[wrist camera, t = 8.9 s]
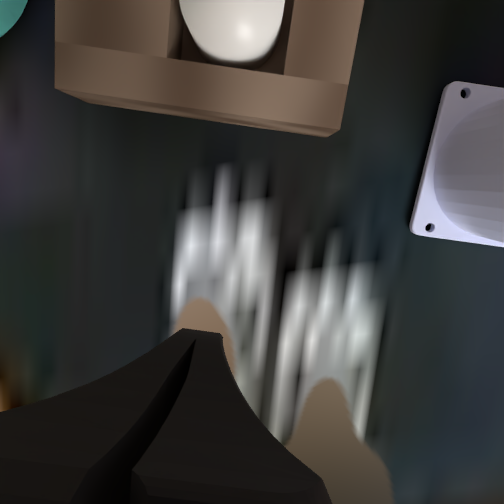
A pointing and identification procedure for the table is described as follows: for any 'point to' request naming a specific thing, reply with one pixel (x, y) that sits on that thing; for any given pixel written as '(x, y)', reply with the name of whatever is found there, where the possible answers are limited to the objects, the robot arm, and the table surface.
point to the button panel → (200, 71)
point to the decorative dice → (10, 13)
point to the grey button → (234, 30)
